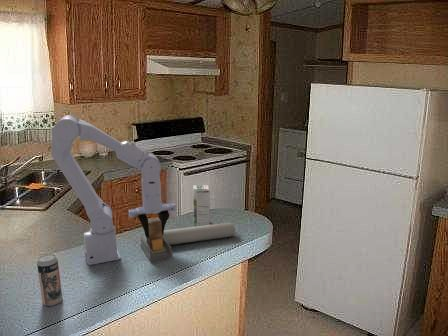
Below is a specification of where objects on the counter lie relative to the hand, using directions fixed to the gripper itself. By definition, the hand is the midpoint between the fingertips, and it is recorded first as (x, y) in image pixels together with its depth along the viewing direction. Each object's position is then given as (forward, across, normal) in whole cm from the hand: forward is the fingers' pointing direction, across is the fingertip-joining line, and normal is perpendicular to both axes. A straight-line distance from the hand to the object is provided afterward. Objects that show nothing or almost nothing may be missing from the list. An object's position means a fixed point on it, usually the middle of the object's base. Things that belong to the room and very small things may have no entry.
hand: (154, 235), depth 132 cm
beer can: (+5, -31, -18) cm, 36 cm away
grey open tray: (+5, 0, -1) cm, 5 cm away
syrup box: (+5, +21, +14) cm, 26 cm away
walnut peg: (+3, 0, 0) cm, 3 cm away
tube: (+5, +15, +1) cm, 16 cm away
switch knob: (+4, 0, -3) cm, 5 cm away
